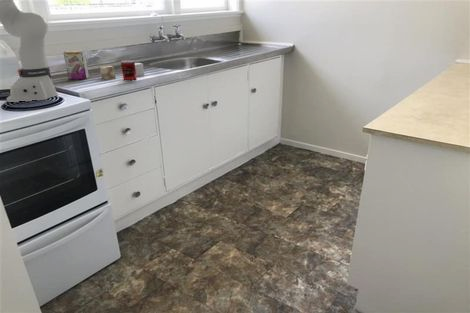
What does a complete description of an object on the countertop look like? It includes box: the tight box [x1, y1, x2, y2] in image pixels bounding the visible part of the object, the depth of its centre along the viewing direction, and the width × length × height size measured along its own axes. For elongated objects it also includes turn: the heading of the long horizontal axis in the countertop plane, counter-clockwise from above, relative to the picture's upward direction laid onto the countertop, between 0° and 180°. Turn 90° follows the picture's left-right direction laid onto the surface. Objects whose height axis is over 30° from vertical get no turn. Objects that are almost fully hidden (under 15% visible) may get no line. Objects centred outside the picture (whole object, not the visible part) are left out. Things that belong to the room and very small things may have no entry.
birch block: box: [99, 65, 116, 80], centre depth 218 cm, size 6×6×7 cm
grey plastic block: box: [135, 62, 145, 77], centre depth 226 cm, size 6×6×7 cm
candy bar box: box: [63, 50, 90, 80], centre depth 217 cm, size 11×5×16 cm, turn 92°
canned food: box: [120, 59, 137, 81], centre depth 211 cm, size 8×8×11 cm
